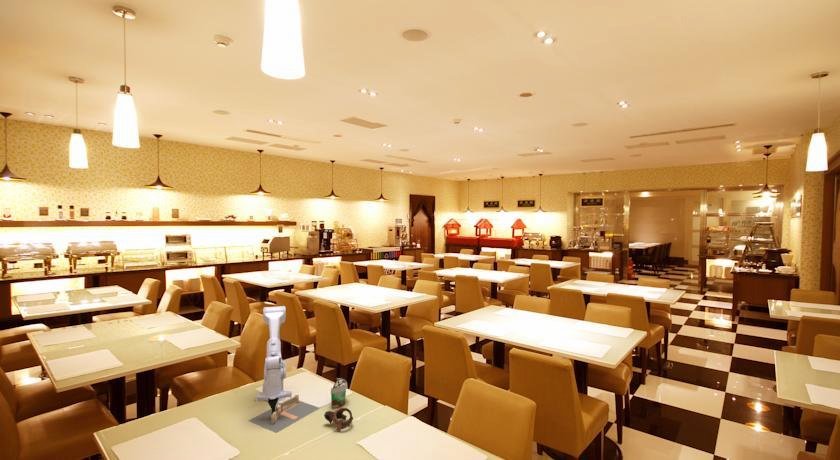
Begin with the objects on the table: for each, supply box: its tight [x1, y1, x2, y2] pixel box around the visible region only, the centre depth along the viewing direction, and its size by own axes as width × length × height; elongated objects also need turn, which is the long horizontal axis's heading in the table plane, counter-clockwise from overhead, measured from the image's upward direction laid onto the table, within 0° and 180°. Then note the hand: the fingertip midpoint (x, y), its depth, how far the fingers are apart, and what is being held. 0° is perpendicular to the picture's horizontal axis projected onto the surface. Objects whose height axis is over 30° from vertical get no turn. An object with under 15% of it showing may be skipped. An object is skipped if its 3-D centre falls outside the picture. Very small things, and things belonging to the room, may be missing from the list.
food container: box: [330, 377, 349, 409], centre depth 185 cm, size 12×6×10 cm, turn 179°
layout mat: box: [247, 400, 320, 434], centre depth 175 cm, size 18×24×1 cm
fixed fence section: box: [278, 394, 300, 413], centre depth 181 cm, size 2×11×4 cm, turn 149°
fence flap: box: [271, 404, 281, 424], centre depth 171 cm, size 9×2×4 cm, turn 2°
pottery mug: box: [323, 407, 354, 432], centre depth 167 cm, size 12×10×8 cm
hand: (273, 415), depth 172 cm, fingers closed, pressing on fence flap
